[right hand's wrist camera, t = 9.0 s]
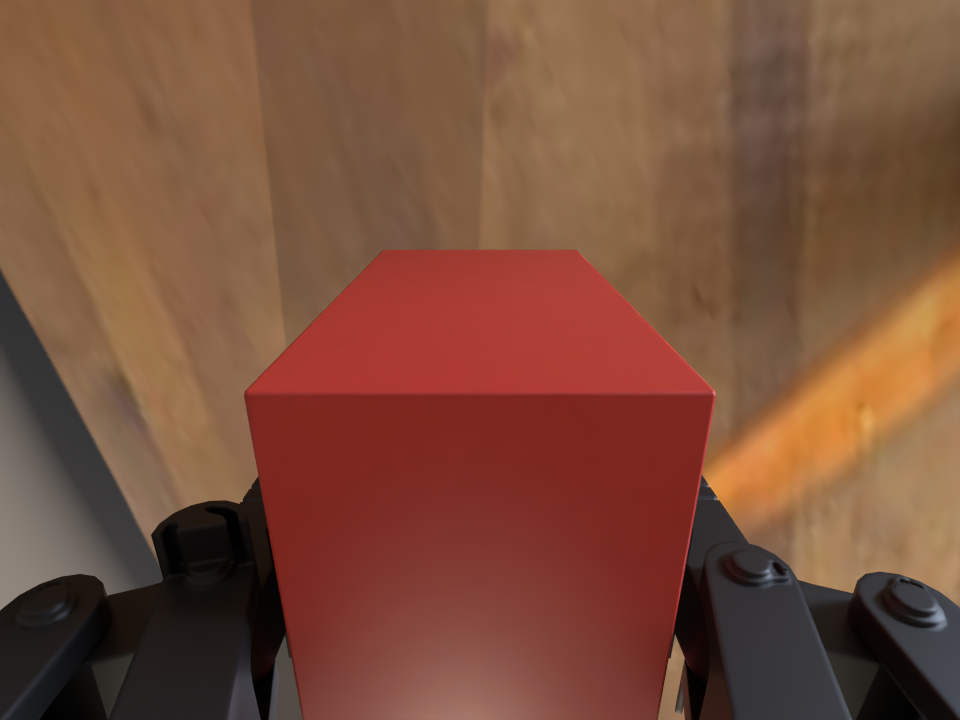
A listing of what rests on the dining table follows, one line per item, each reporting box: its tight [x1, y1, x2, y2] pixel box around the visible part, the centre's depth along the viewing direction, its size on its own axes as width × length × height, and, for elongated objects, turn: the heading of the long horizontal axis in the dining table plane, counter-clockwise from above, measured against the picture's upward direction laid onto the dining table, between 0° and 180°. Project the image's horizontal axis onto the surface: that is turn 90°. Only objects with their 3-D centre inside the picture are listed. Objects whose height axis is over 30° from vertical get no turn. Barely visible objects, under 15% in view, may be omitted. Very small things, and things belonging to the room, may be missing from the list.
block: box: [244, 250, 716, 720], centre depth 11 cm, size 5×9×9 cm, turn 0°
